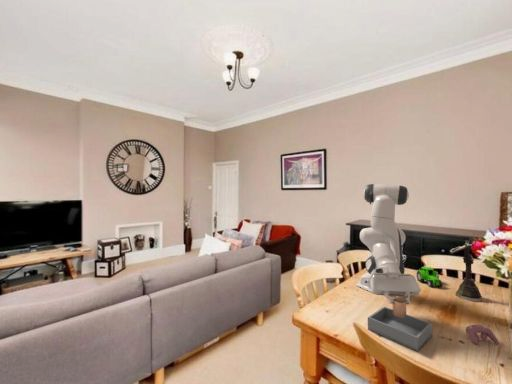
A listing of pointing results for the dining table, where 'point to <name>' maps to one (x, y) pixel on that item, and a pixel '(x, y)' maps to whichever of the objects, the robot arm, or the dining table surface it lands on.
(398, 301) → the jar
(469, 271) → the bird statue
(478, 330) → the purple animal figurine
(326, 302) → the dining table surface
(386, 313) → the bin
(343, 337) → the dining table surface
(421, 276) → the toy tractor
